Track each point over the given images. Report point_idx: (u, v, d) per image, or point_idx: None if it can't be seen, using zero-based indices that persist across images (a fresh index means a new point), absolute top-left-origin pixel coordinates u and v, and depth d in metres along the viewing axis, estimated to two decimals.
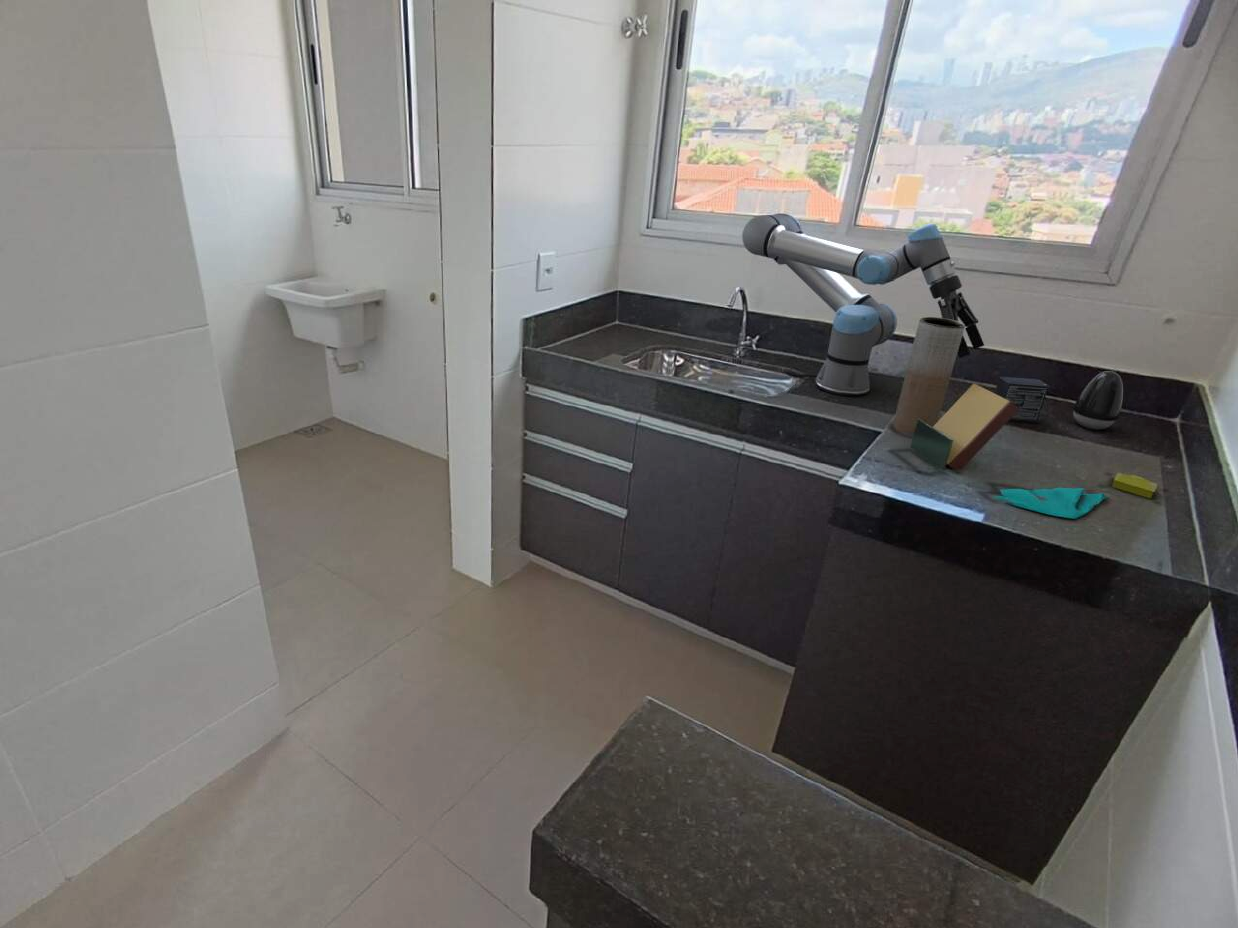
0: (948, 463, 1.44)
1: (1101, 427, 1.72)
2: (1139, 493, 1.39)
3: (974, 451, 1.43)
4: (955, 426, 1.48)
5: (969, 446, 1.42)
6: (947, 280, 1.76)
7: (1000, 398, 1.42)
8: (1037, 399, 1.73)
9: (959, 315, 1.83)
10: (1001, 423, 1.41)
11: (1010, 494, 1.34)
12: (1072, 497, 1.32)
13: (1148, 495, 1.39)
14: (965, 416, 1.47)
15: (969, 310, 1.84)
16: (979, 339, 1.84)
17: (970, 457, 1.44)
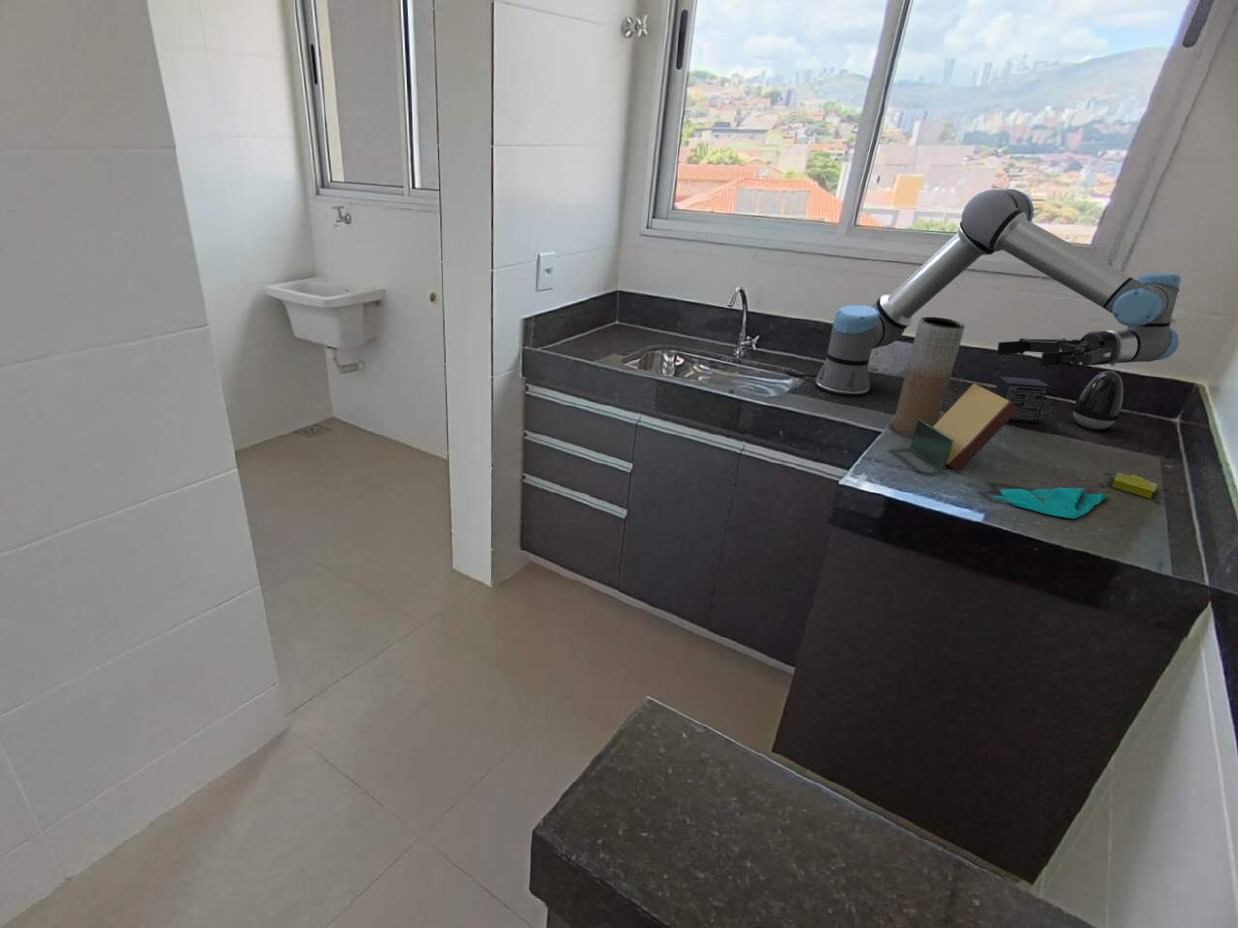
0: (948, 463, 1.44)
1: (1101, 427, 1.72)
2: (1139, 493, 1.39)
3: (974, 451, 1.43)
4: (955, 426, 1.48)
5: (969, 446, 1.42)
6: (1112, 359, 1.46)
7: (1000, 398, 1.42)
8: (1037, 399, 1.73)
9: (1049, 344, 1.51)
10: (1001, 423, 1.41)
11: (1010, 494, 1.34)
12: (1072, 497, 1.32)
13: (1148, 495, 1.39)
14: (965, 416, 1.47)
15: None
16: (1007, 352, 1.52)
17: (970, 457, 1.44)
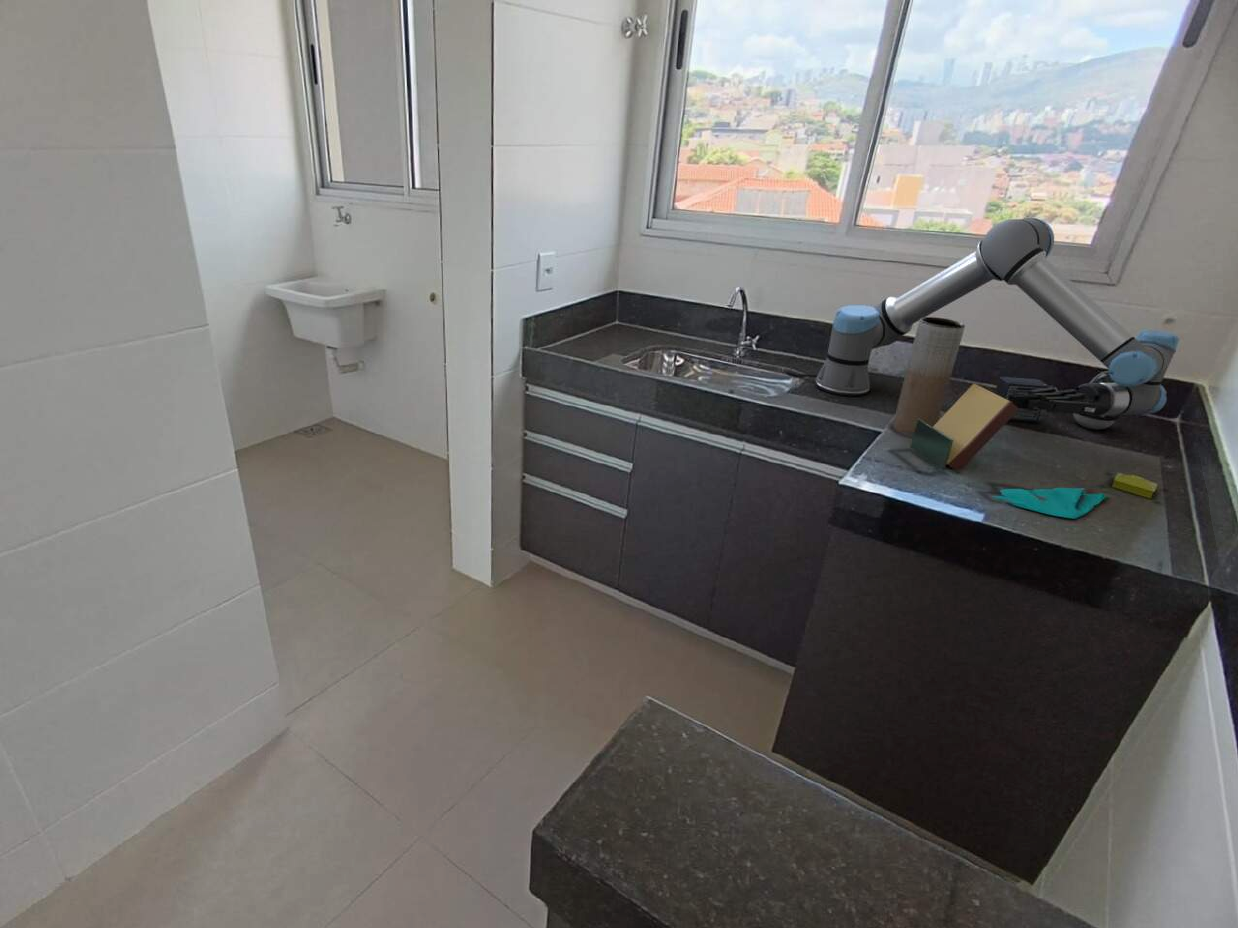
0: (948, 463, 1.44)
1: (1101, 427, 1.72)
2: (1139, 493, 1.39)
3: (974, 451, 1.43)
4: (955, 426, 1.48)
5: (969, 446, 1.42)
6: (1104, 412, 1.49)
7: (1000, 398, 1.42)
8: None
9: (1054, 396, 1.49)
10: (1001, 423, 1.41)
11: (1010, 494, 1.34)
12: (1072, 497, 1.32)
13: (1148, 495, 1.39)
14: (965, 416, 1.47)
15: None
16: None
17: (970, 457, 1.44)
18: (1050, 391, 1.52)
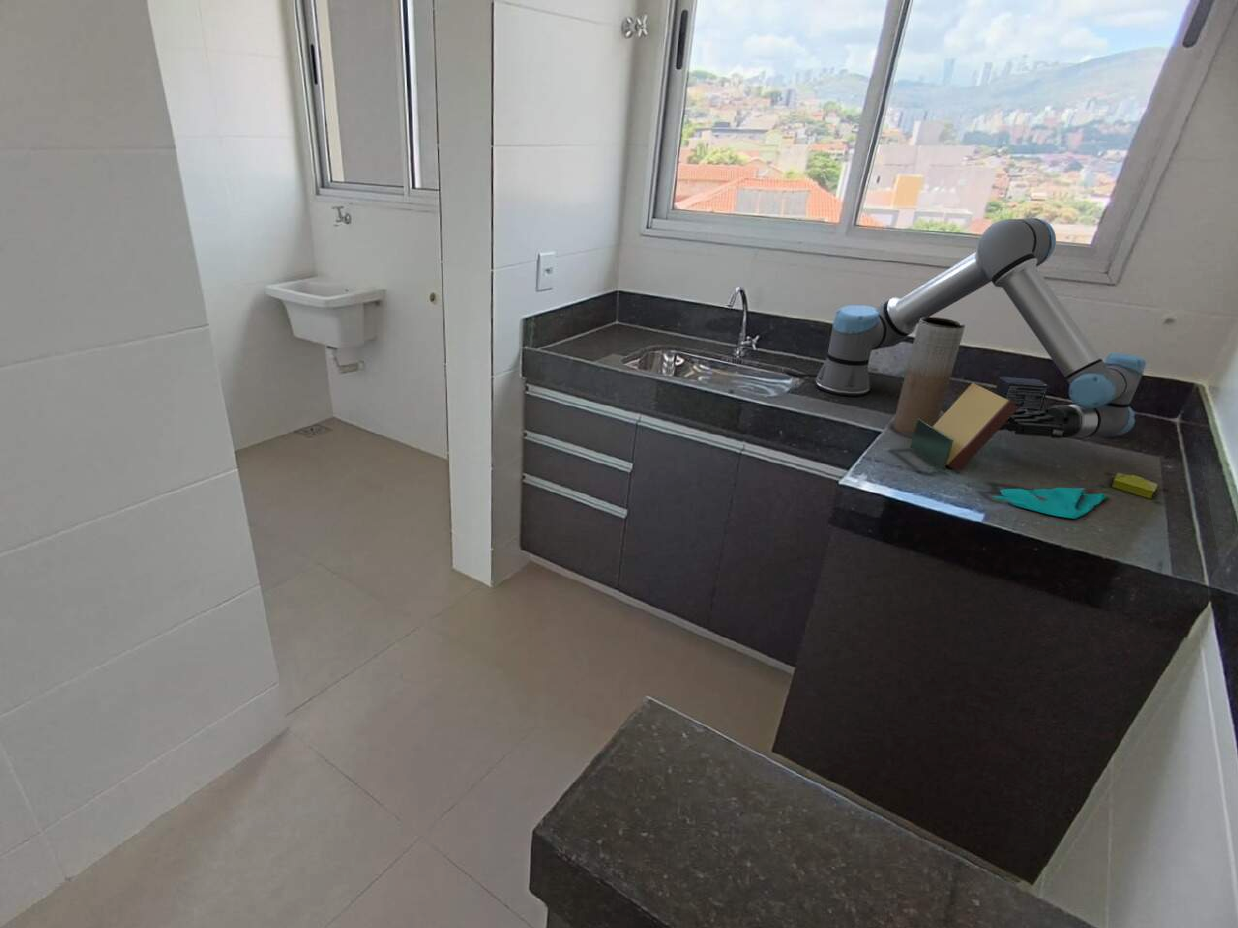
0: (948, 463, 1.44)
1: None
2: (1139, 493, 1.39)
3: (974, 451, 1.43)
4: (954, 426, 1.48)
5: (969, 446, 1.42)
6: (1072, 434, 1.50)
7: (999, 397, 1.42)
8: (1037, 399, 1.73)
9: (1023, 418, 1.50)
10: (1001, 422, 1.41)
11: (1010, 494, 1.34)
12: (1072, 497, 1.32)
13: (1148, 495, 1.39)
14: (964, 416, 1.47)
15: None
16: None
17: (970, 457, 1.44)
18: (1020, 413, 1.54)
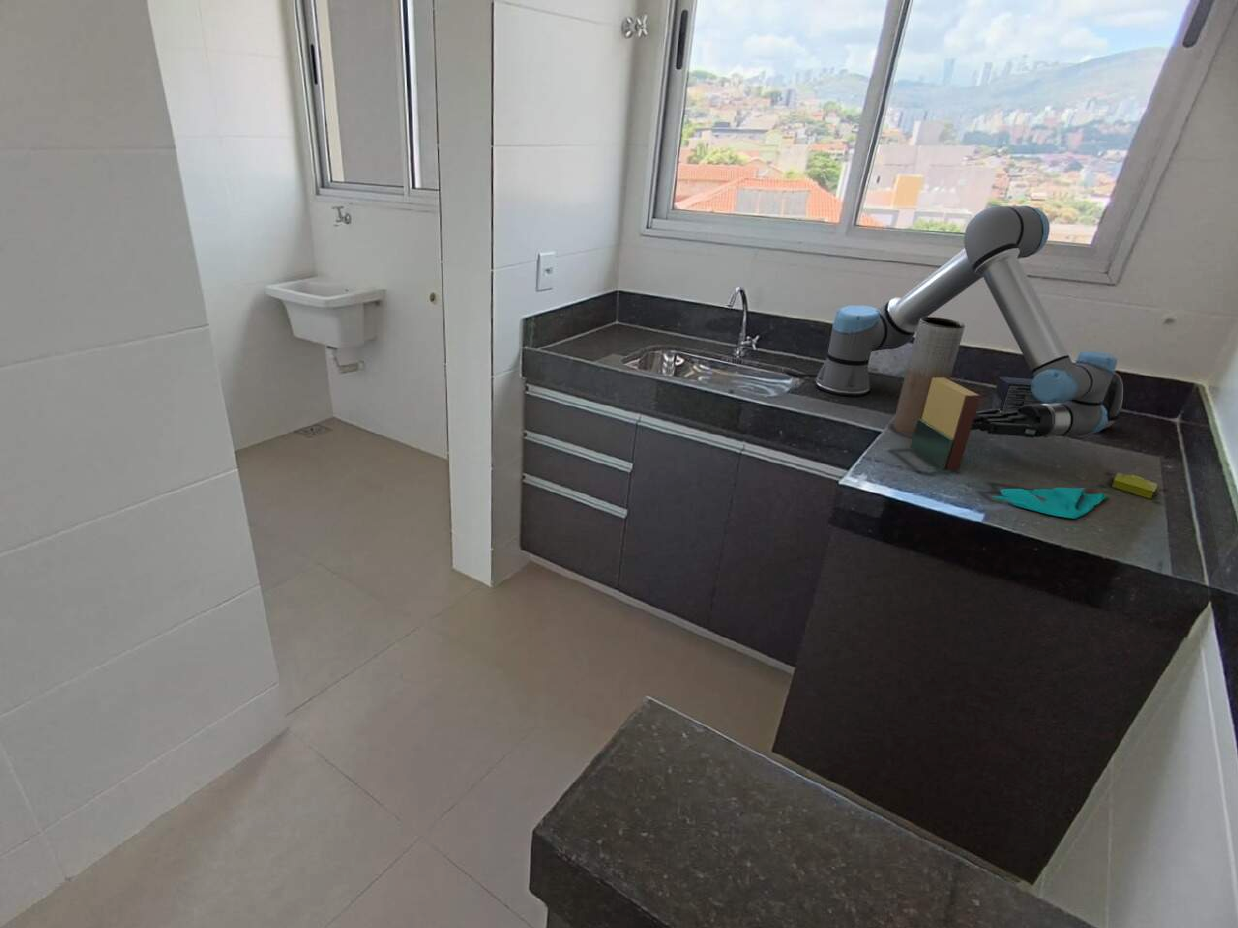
0: None
1: None
2: (1139, 493, 1.39)
3: (961, 449, 1.42)
4: None
5: (952, 449, 1.42)
6: (1045, 433, 1.49)
7: (958, 393, 1.39)
8: None
9: (996, 418, 1.49)
10: (971, 415, 1.39)
11: (1010, 494, 1.34)
12: (1072, 497, 1.32)
13: (1148, 495, 1.39)
14: (938, 416, 1.46)
15: None
16: None
17: (961, 455, 1.43)
18: (993, 412, 1.52)
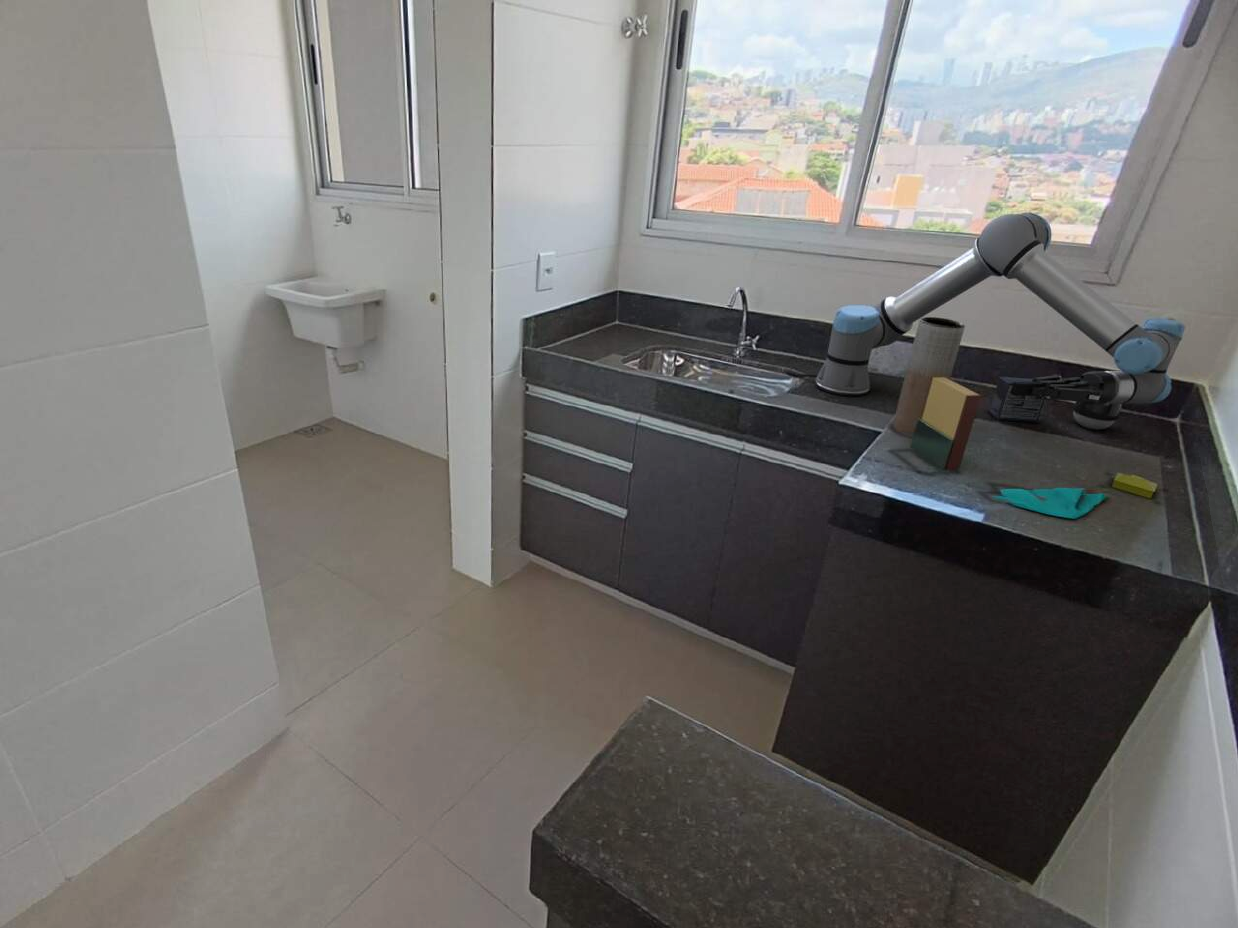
0: None
1: (1101, 427, 1.72)
2: (1139, 493, 1.39)
3: (961, 449, 1.42)
4: None
5: (953, 449, 1.42)
6: (1108, 401, 1.48)
7: (958, 392, 1.39)
8: (1037, 399, 1.73)
9: (1058, 384, 1.48)
10: (972, 415, 1.39)
11: (1010, 494, 1.34)
12: (1072, 497, 1.32)
13: (1148, 495, 1.39)
14: (939, 416, 1.46)
15: None
16: None
17: (961, 455, 1.43)
18: (1054, 379, 1.51)
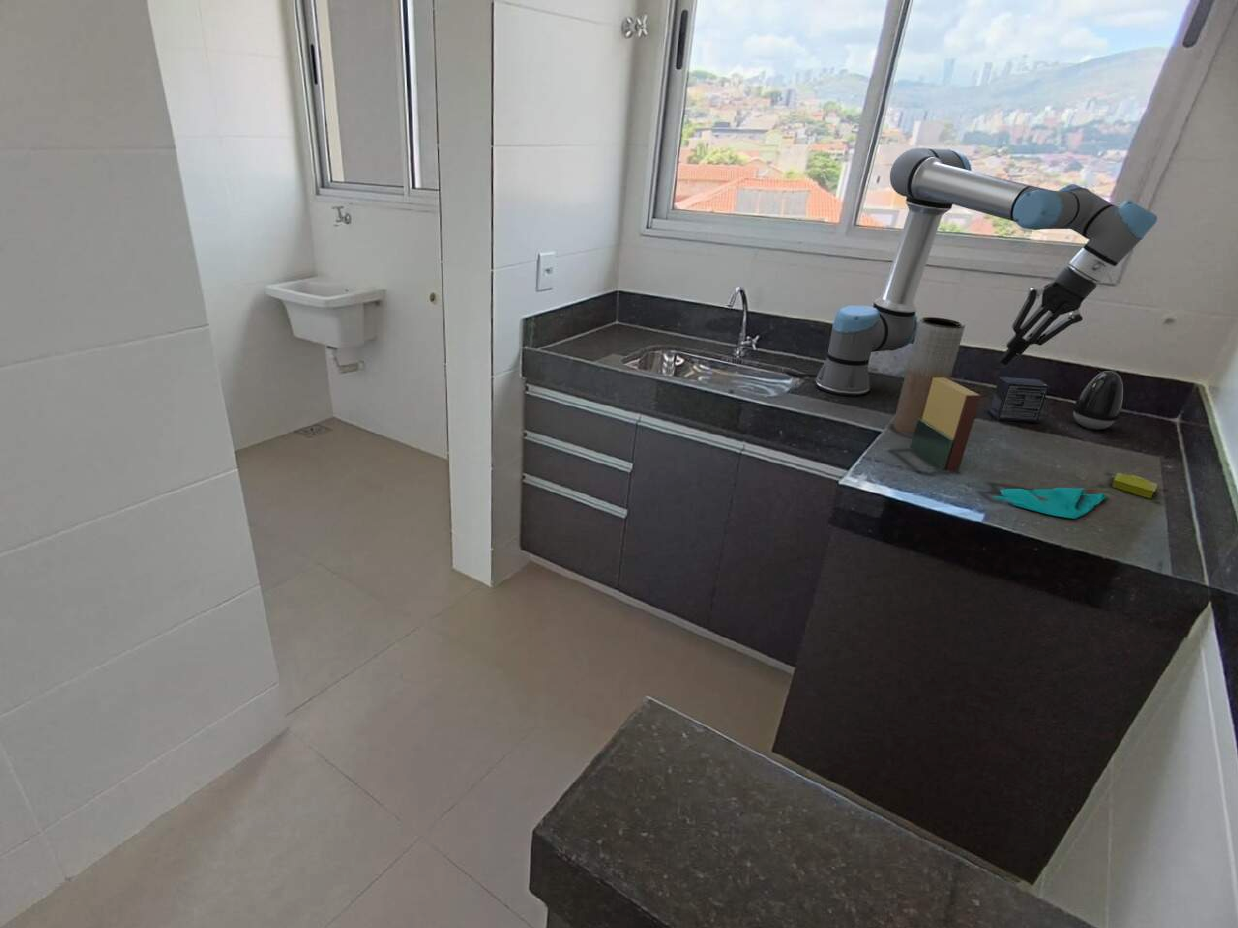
0: None
1: (1101, 427, 1.72)
2: (1139, 493, 1.39)
3: (961, 449, 1.42)
4: None
5: (953, 449, 1.42)
6: (1069, 272, 1.41)
7: (958, 392, 1.39)
8: (1037, 399, 1.73)
9: (1043, 320, 1.49)
10: (972, 415, 1.39)
11: (1010, 494, 1.34)
12: (1072, 497, 1.32)
13: (1148, 495, 1.39)
14: (939, 416, 1.46)
15: (1053, 330, 1.48)
16: None
17: (961, 455, 1.43)
18: (1062, 320, 1.48)
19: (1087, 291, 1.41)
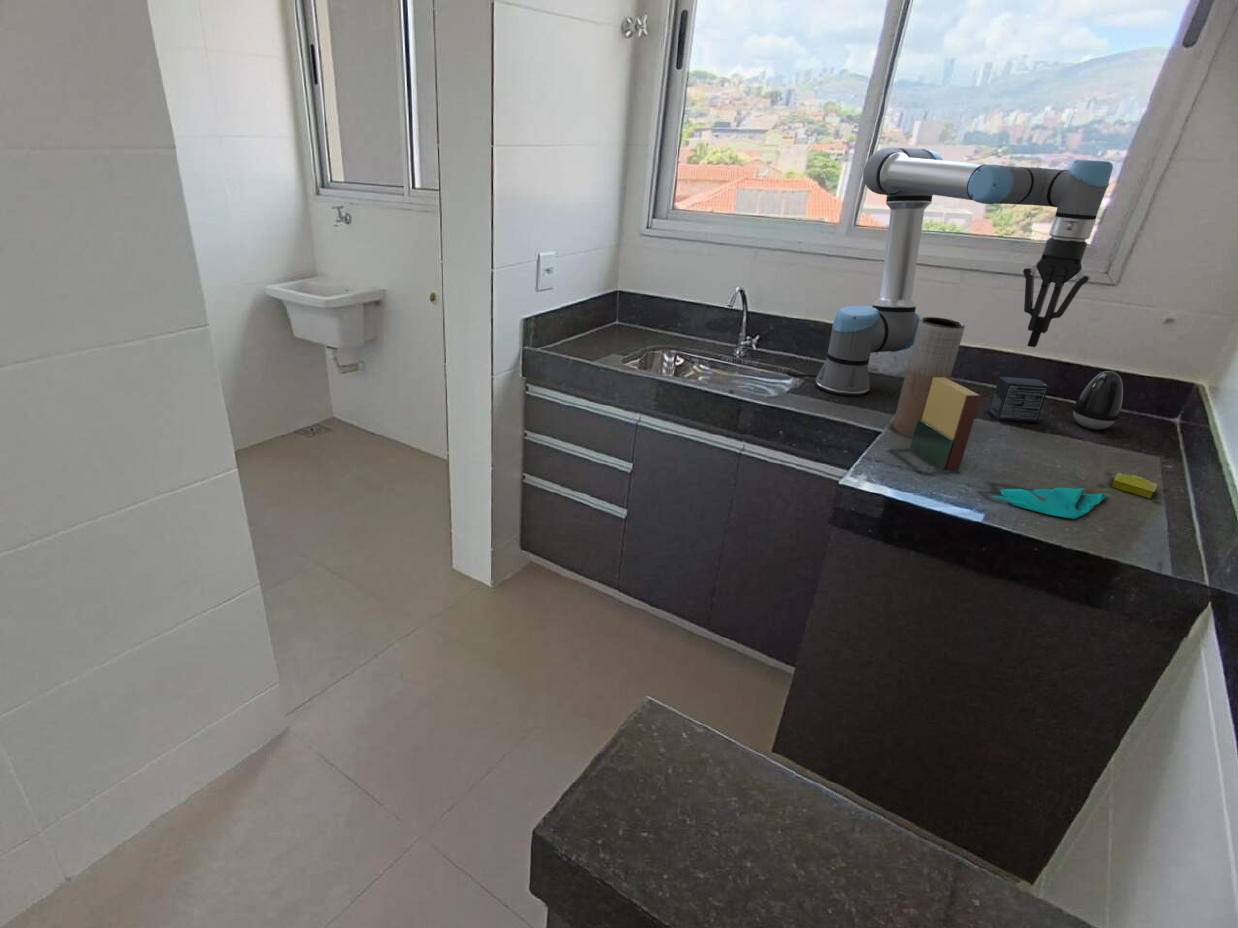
0: None
1: (1101, 427, 1.72)
2: (1139, 493, 1.39)
3: (961, 449, 1.42)
4: None
5: (953, 449, 1.42)
6: (1048, 241, 1.43)
7: (958, 392, 1.39)
8: (1037, 399, 1.73)
9: None
10: (972, 415, 1.39)
11: (1010, 494, 1.34)
12: (1072, 497, 1.32)
13: (1148, 495, 1.39)
14: (939, 416, 1.46)
15: None
16: None
17: (961, 455, 1.43)
18: None
19: (1075, 251, 1.39)
